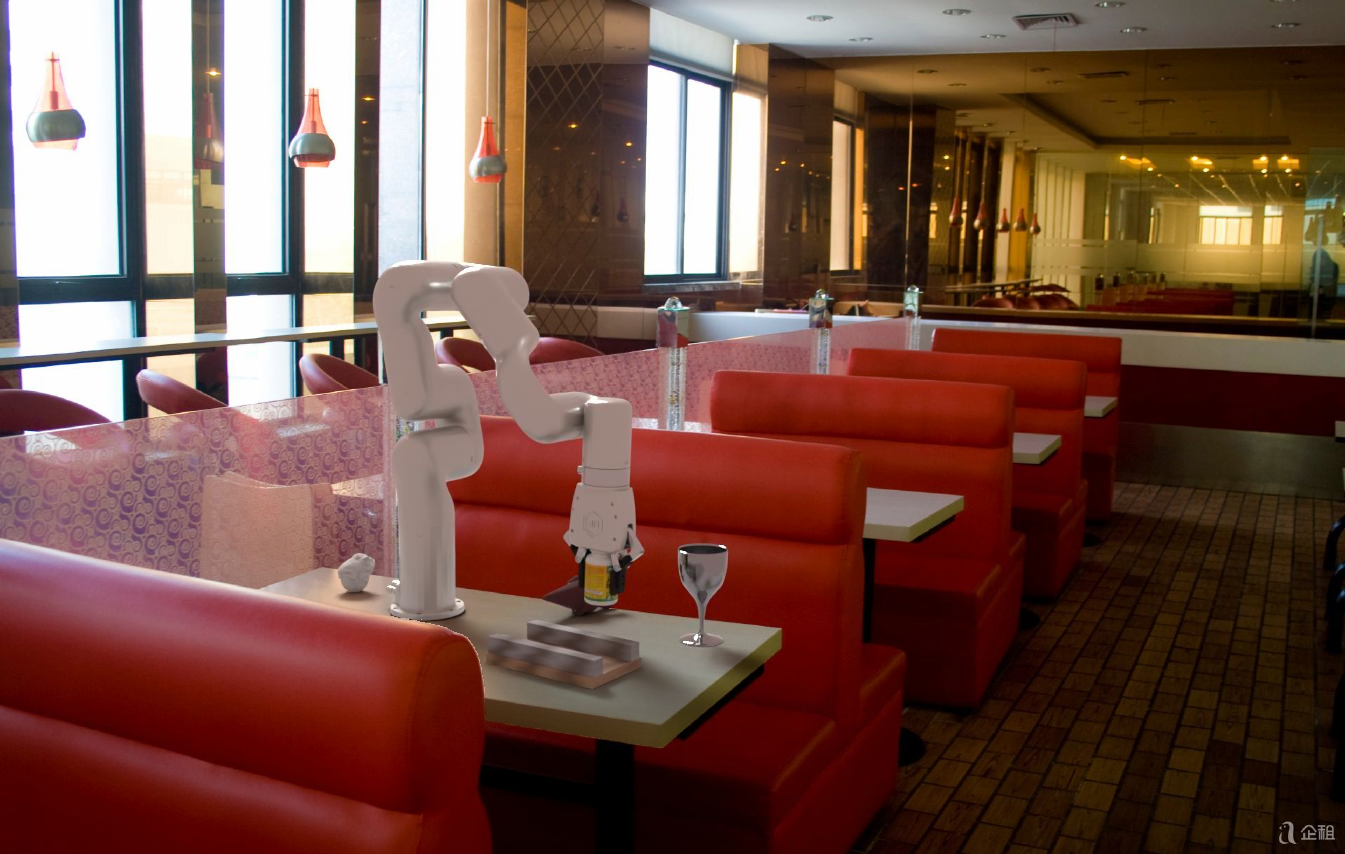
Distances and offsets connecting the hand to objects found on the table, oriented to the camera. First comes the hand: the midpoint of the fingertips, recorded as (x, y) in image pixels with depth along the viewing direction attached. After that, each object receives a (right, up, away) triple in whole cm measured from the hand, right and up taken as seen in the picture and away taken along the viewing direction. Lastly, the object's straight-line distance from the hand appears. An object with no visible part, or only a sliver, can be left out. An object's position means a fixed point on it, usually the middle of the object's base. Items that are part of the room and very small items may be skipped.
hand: (601, 588), depth 189 cm
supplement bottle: (0, -2, 0) cm, 2 cm away
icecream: (-5, -7, +18) cm, 20 cm away
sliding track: (-5, -10, -10) cm, 15 cm away
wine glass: (+16, -9, +4) cm, 19 cm away
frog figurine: (-47, -5, +30) cm, 56 cm away
